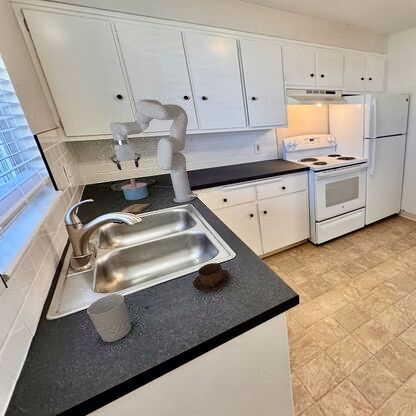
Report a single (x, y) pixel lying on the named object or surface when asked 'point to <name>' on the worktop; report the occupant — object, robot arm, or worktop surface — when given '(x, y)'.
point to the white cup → (110, 317)
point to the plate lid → (133, 185)
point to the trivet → (136, 208)
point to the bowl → (136, 193)
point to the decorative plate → (118, 185)
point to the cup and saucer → (211, 277)
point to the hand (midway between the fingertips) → (129, 168)
